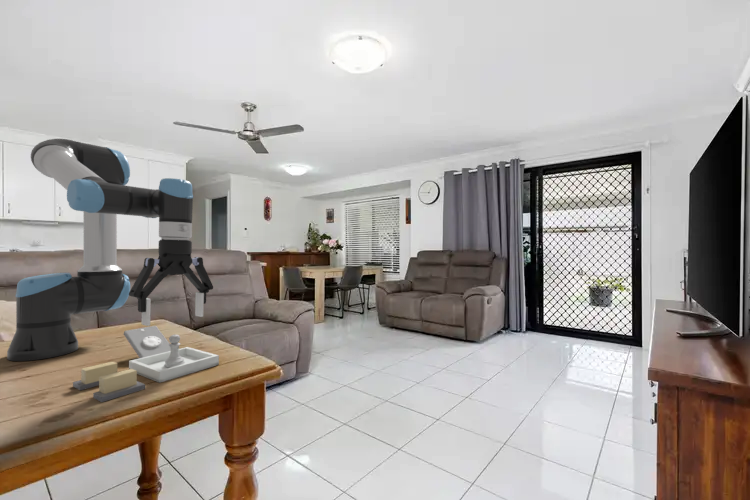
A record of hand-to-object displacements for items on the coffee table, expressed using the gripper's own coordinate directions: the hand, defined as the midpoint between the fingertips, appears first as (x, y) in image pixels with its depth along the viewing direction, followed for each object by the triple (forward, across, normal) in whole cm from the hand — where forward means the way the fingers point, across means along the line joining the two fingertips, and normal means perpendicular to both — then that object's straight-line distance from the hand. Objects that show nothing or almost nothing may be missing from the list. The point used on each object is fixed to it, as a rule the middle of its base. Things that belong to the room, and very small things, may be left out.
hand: (174, 320), depth 90 cm
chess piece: (+12, 0, 0) cm, 12 cm away
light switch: (+13, +1, +13) cm, 19 cm away
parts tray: (+12, 0, -1) cm, 12 cm away
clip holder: (+12, -15, -2) cm, 19 cm away
